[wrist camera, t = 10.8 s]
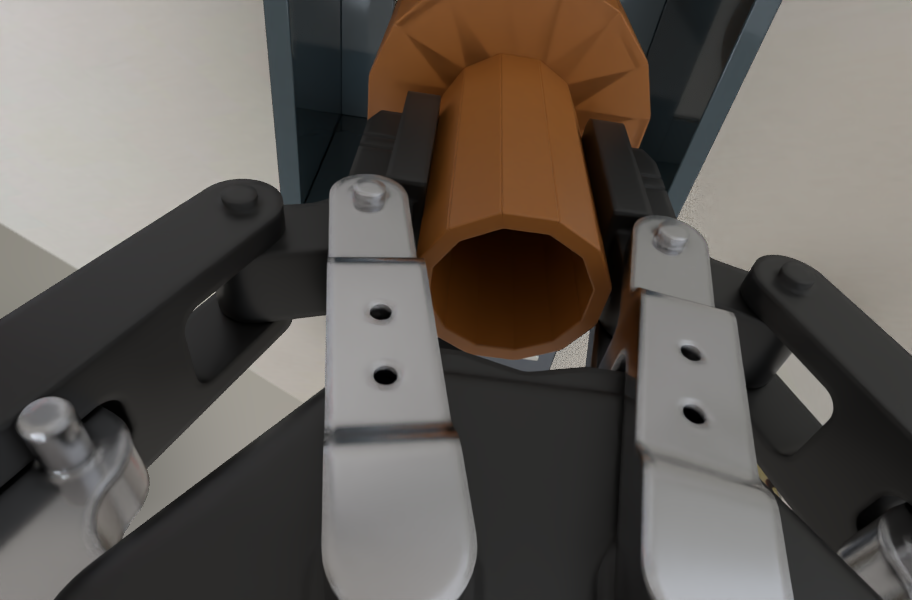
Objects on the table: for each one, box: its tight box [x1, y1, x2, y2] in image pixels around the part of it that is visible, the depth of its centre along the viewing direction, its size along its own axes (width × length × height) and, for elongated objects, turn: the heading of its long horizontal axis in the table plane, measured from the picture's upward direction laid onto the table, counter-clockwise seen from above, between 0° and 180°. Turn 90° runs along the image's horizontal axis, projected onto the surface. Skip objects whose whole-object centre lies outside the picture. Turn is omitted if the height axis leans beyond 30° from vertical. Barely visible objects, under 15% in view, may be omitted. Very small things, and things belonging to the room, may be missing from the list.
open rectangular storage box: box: [263, 0, 782, 218], centre depth 19 cm, size 13×13×8 cm
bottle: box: [367, 0, 651, 360], centre depth 16 cm, size 7×7×17 cm
